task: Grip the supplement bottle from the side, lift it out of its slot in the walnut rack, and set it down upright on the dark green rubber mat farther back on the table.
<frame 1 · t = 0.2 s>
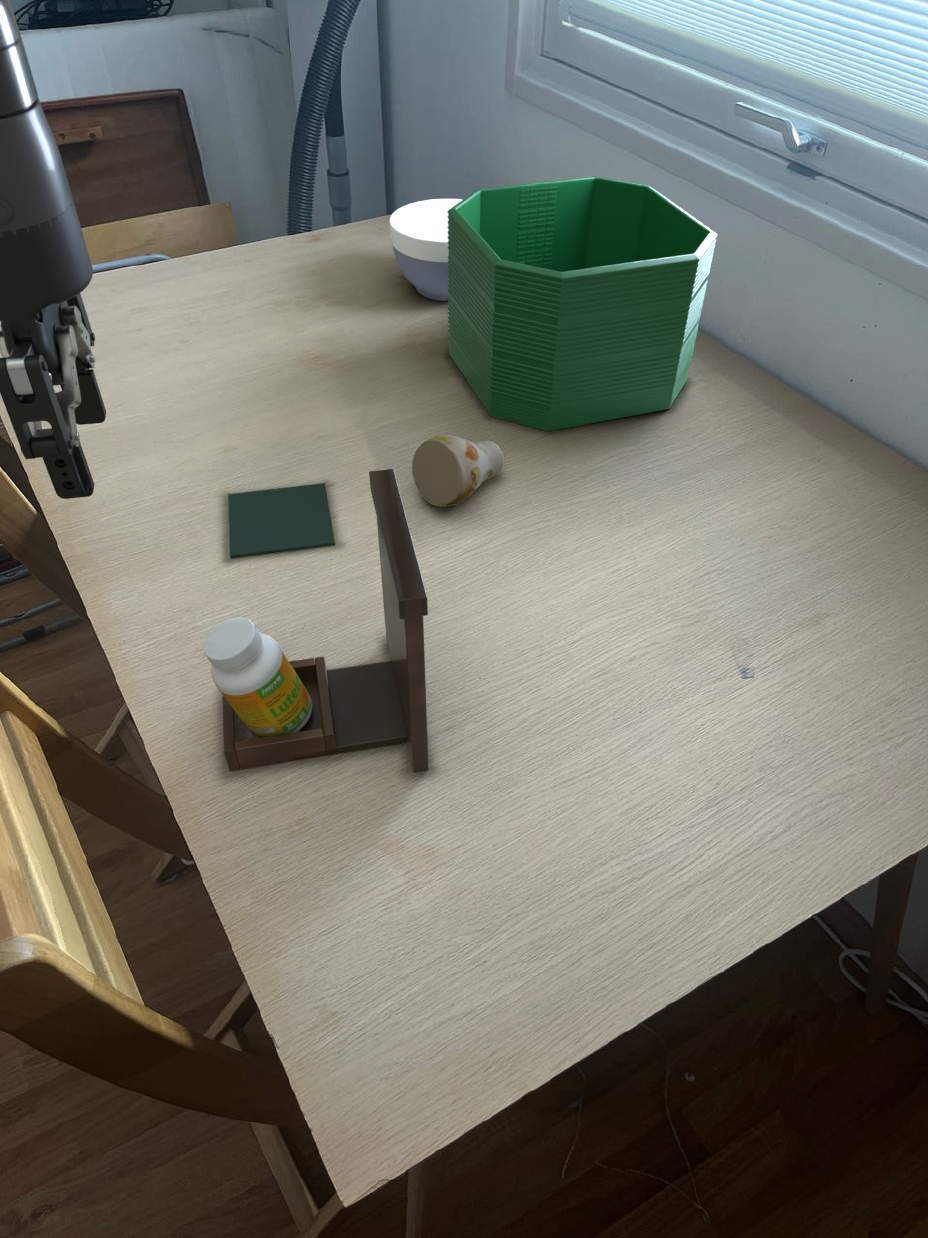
hand: (84, 456, 58), 22 cm above the table, tool pointing down, fingers open, 8 cm apart
planter: (565, 369, 111), on the table
rubber mat: (280, 520, 88), on the table
bowl: (447, 288, 127), on the table
supplement bottle: (283, 717, 70), resting in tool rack
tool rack: (281, 721, 70), on the table
fruit print bud vase: (461, 488, 93), on the table
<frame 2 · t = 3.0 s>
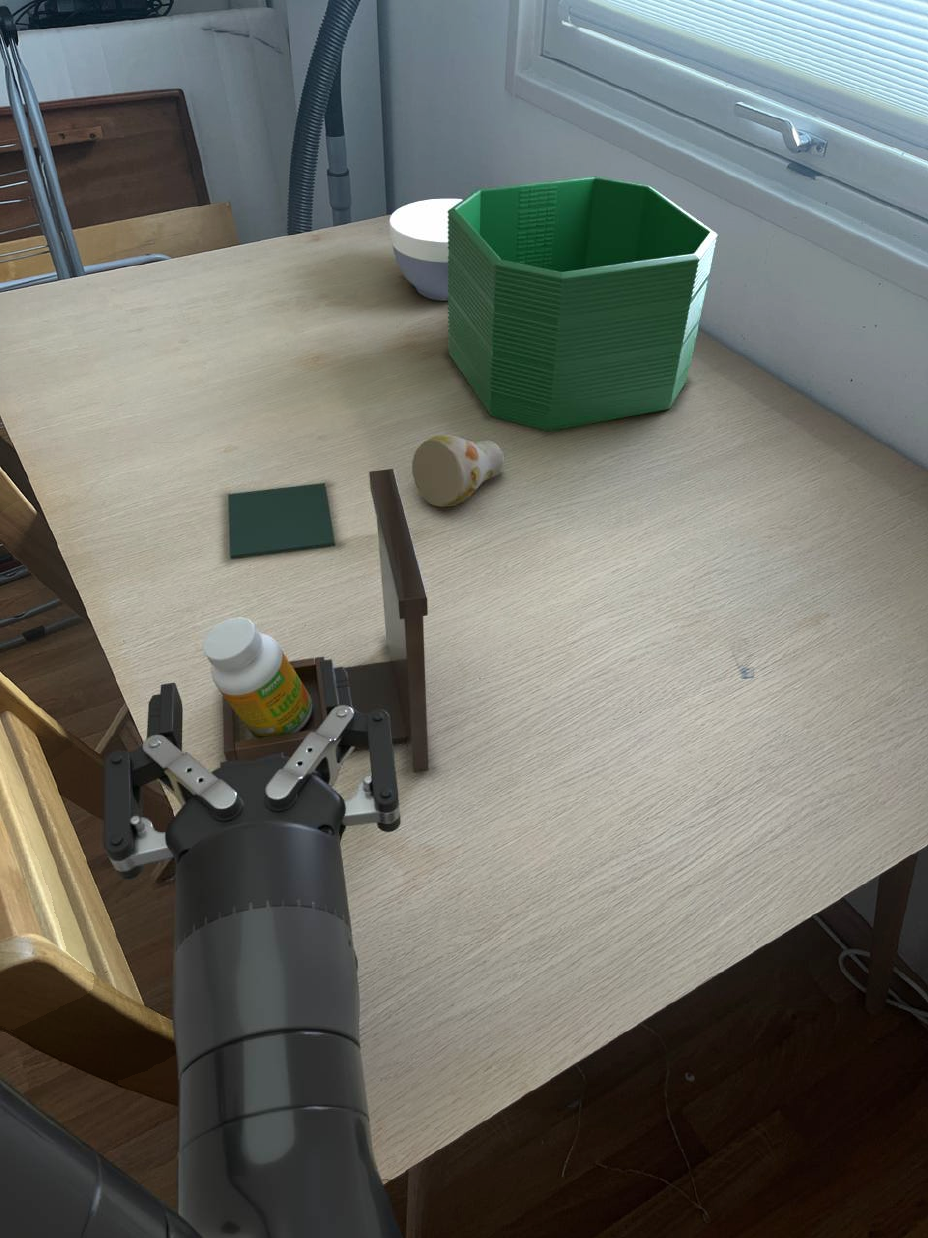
hand: (250, 681, 49), 18 cm above the table, tool horizontal, fingers open, 8 cm apart
nothing on the table moved.
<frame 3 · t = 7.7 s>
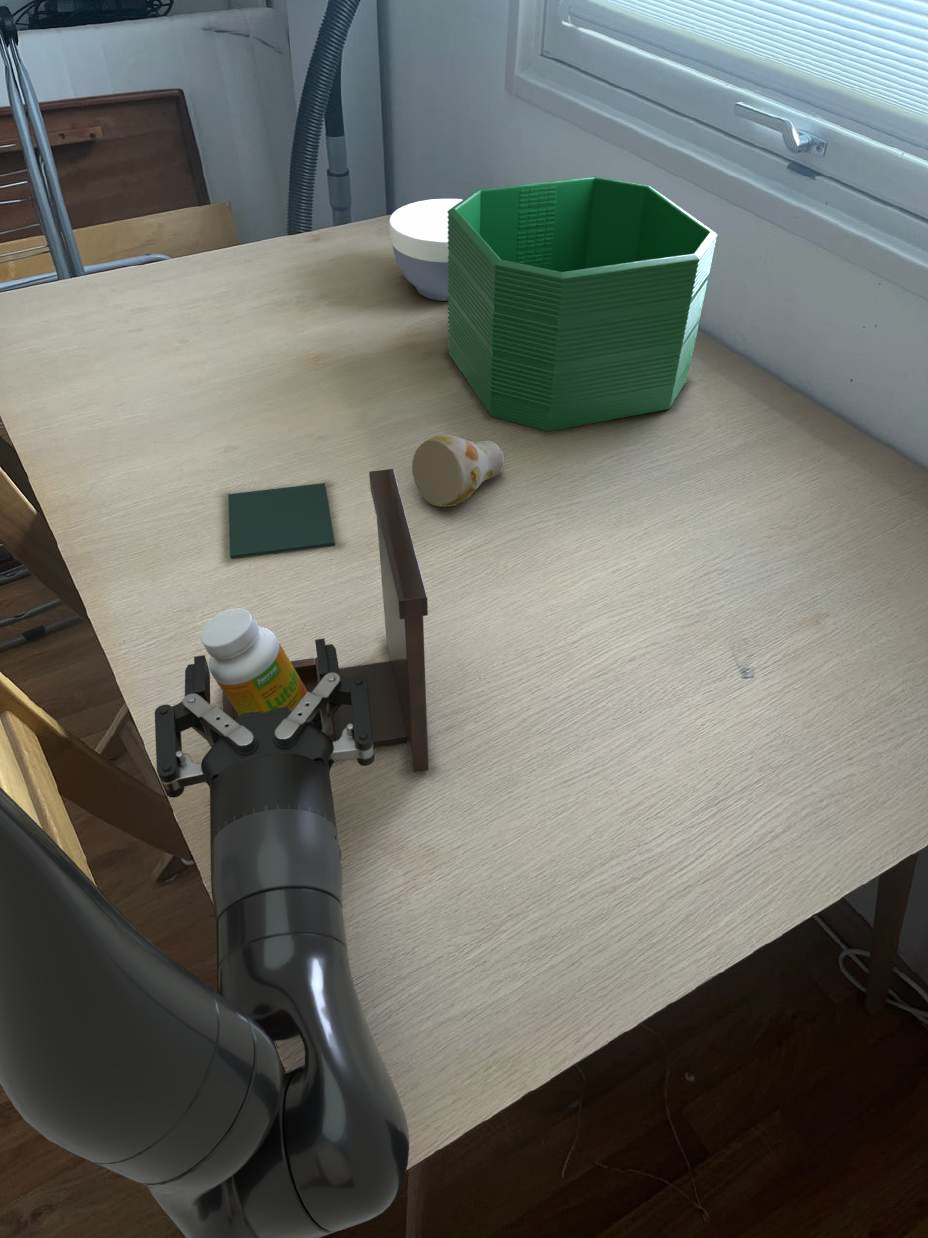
hand: (261, 654, 64), 8 cm above the table, tool horizontal, fingers open, 8 cm apart
supplement bottle: (281, 715, 69), point 1 cm above the table, touching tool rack
everything else where it was.
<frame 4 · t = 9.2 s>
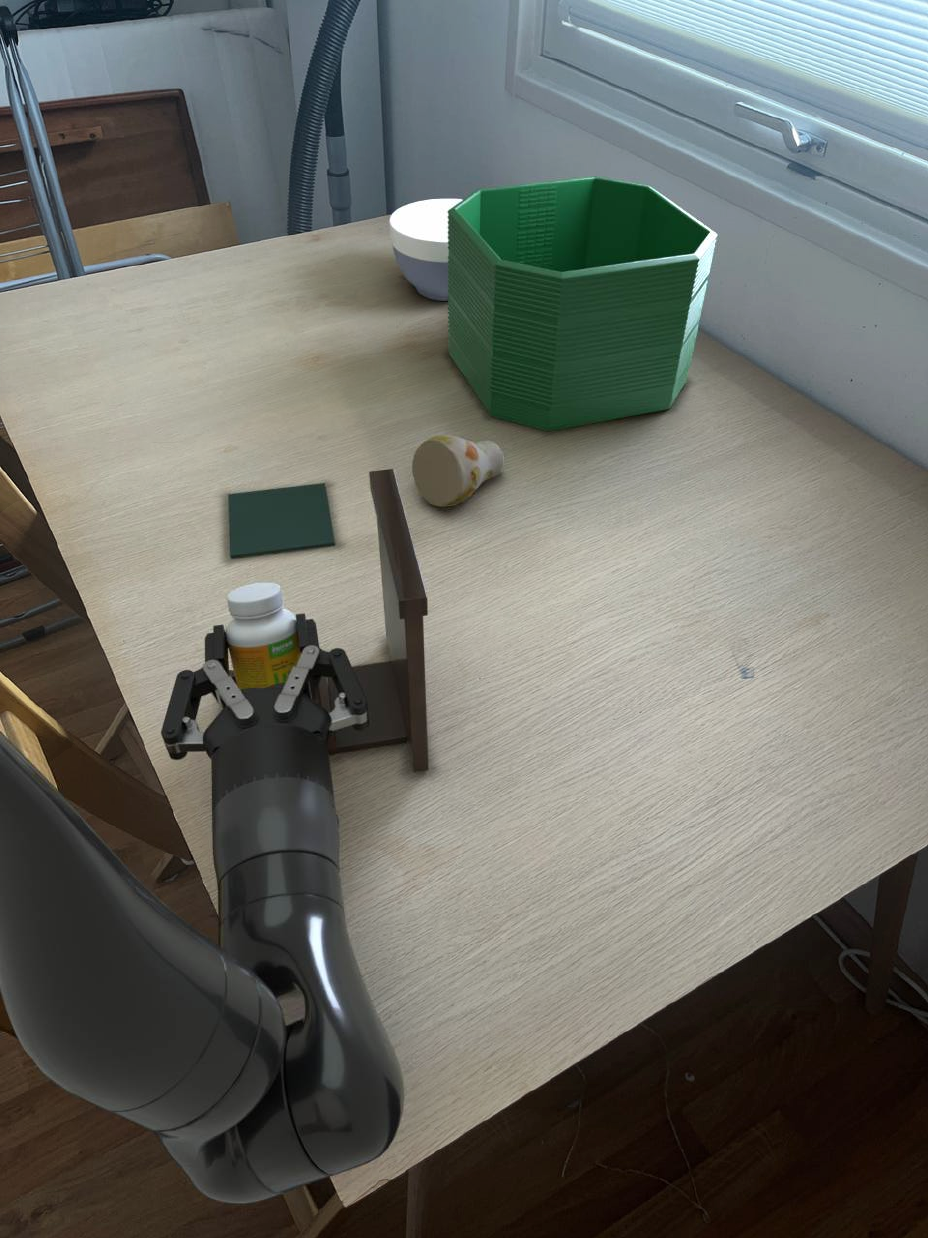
hand: (261, 627, 66), 8 cm above the table, tool horizontal, fingers closed on supplement bottle, 5 cm apart
supplement bottle: (278, 708, 69), point 2 cm above the table, touching gripper, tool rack
everything else where it was.
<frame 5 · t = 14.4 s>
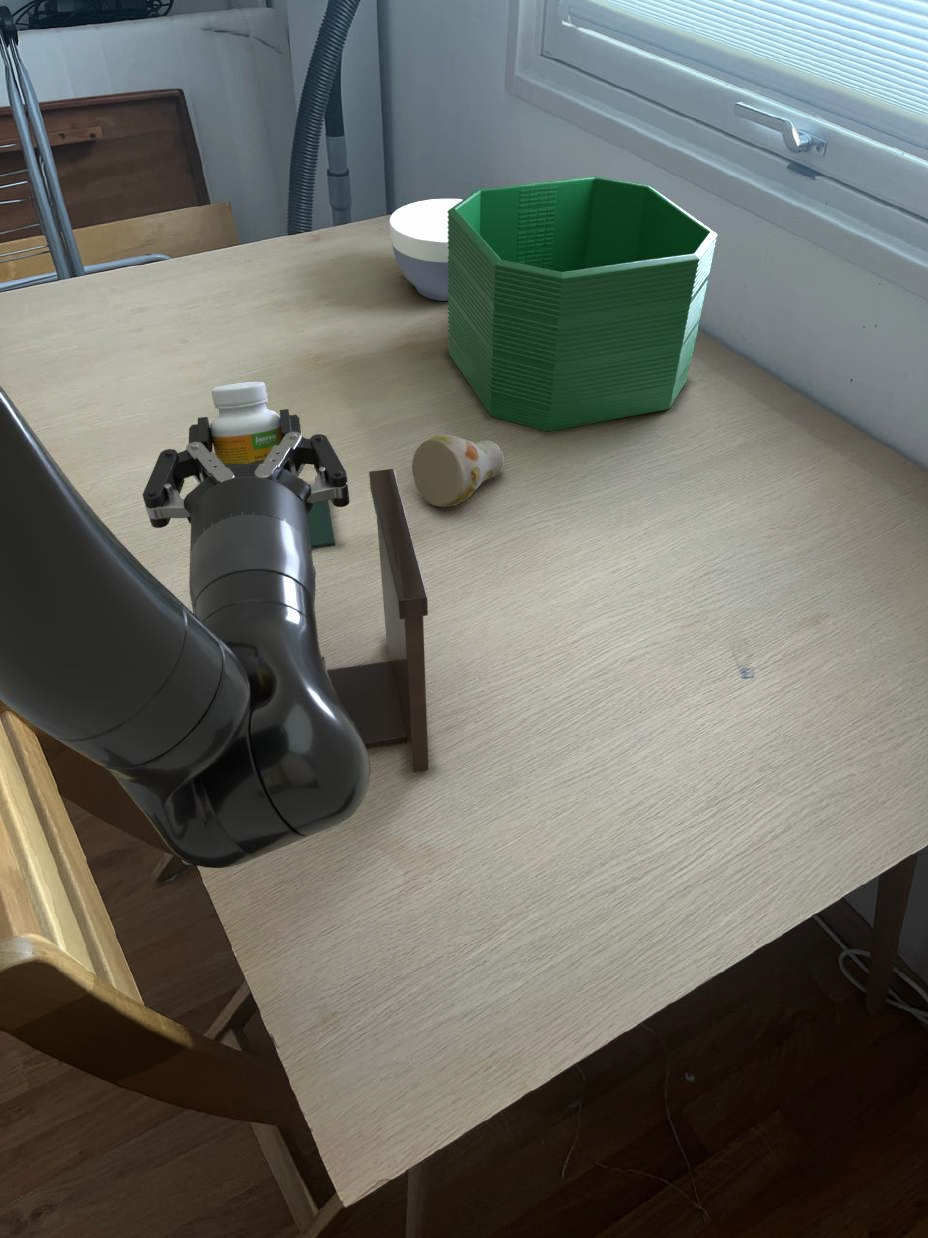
hand: (245, 423, 67), 19 cm above the table, tool horizontal, fingers closed on supplement bottle, 5 cm apart
supplement bottle: (263, 513, 70), point 12 cm above the table, touching gripper
everything else where it was.
when the fingers open (8 cm above the table, at t = 20.1 s): supplement bottle drops 1 cm, resting on rubber mat.
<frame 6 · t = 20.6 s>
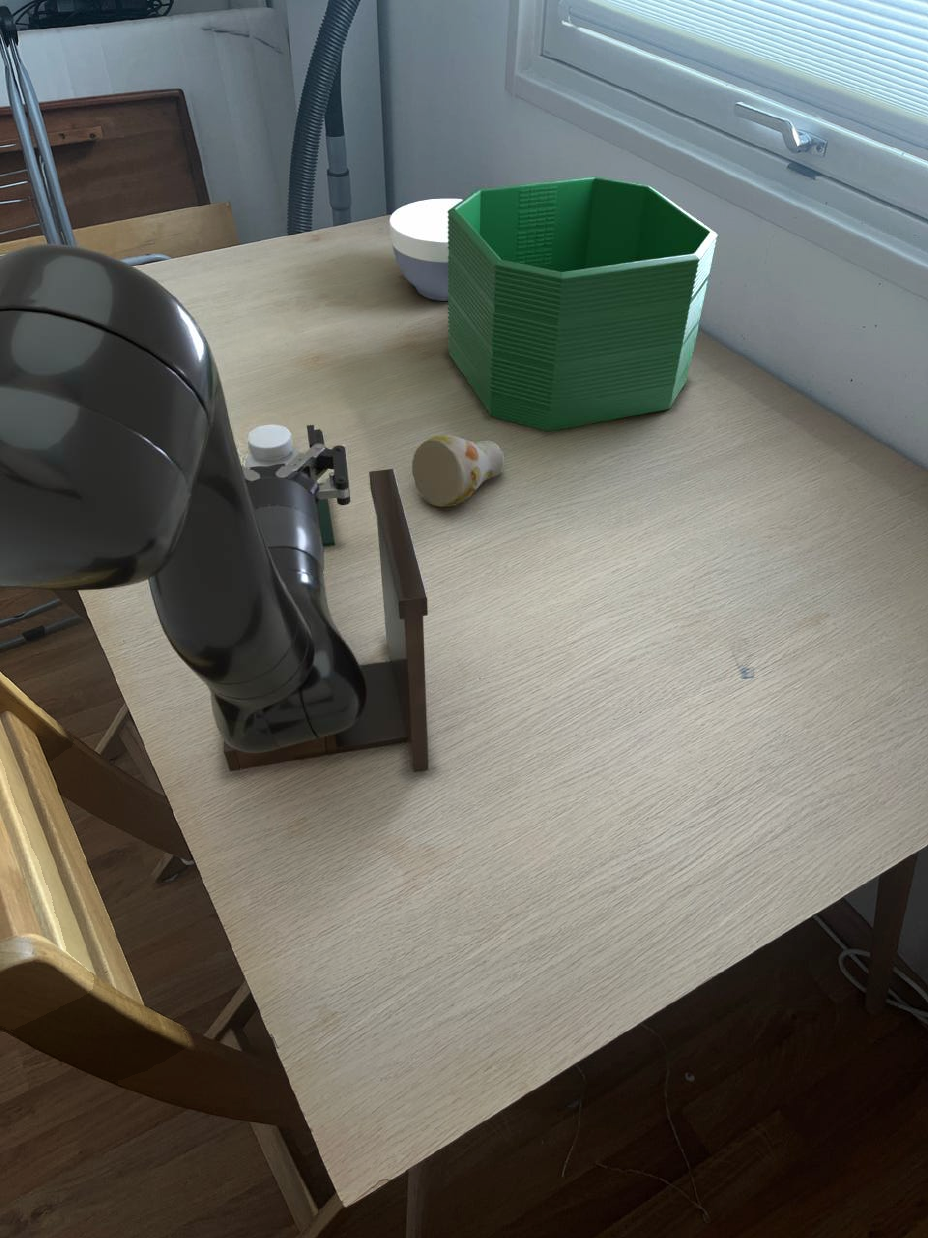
hand: (266, 437, 84), 9 cm above the table, tool horizontal, fingers open, 8 cm apart
supplement bottle: (283, 520, 88), resting on rubber mat
everything else where it was.
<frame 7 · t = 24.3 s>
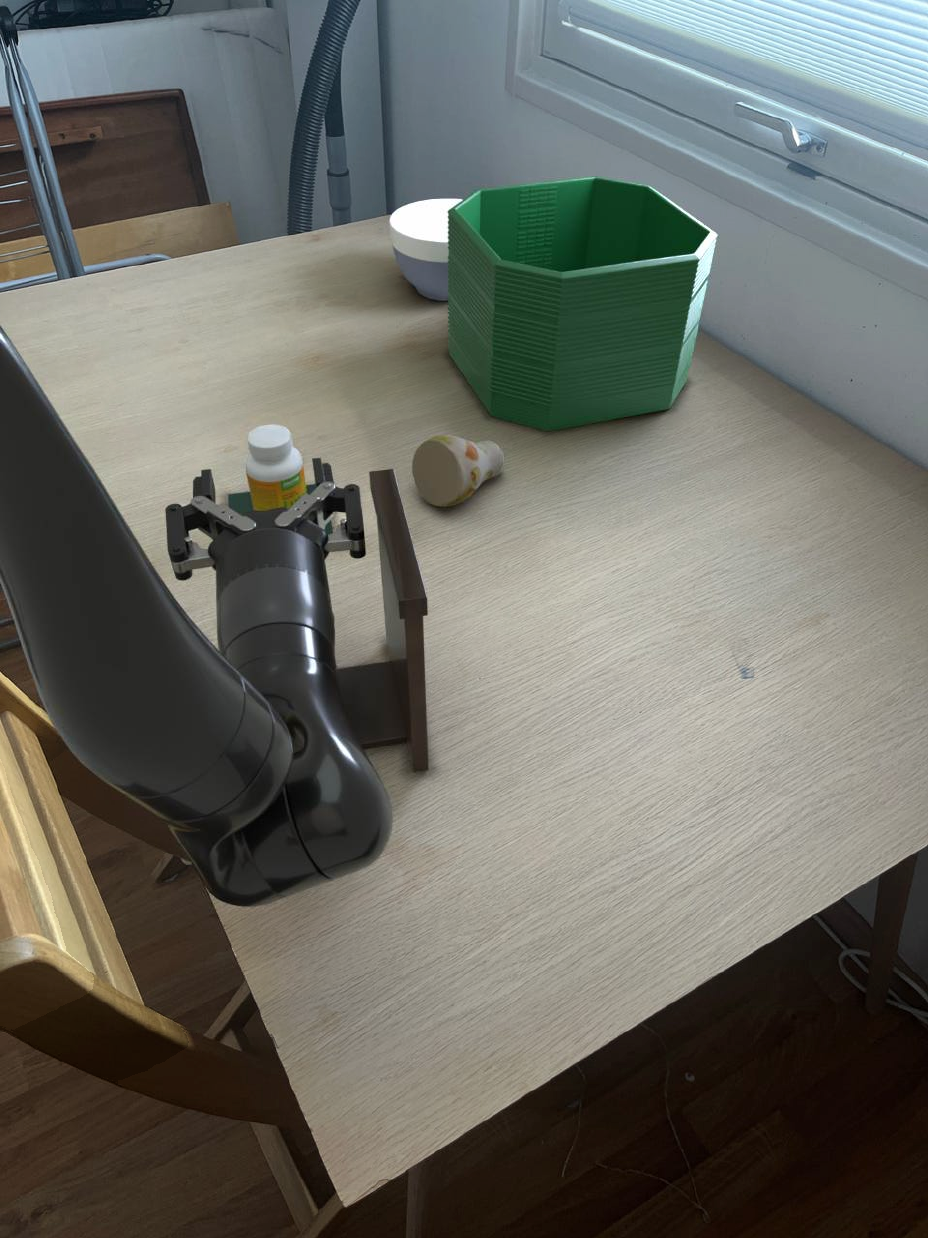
hand: (263, 472, 70), 14 cm above the table, tool horizontal, fingers open, 8 cm apart
nothing on the table moved.
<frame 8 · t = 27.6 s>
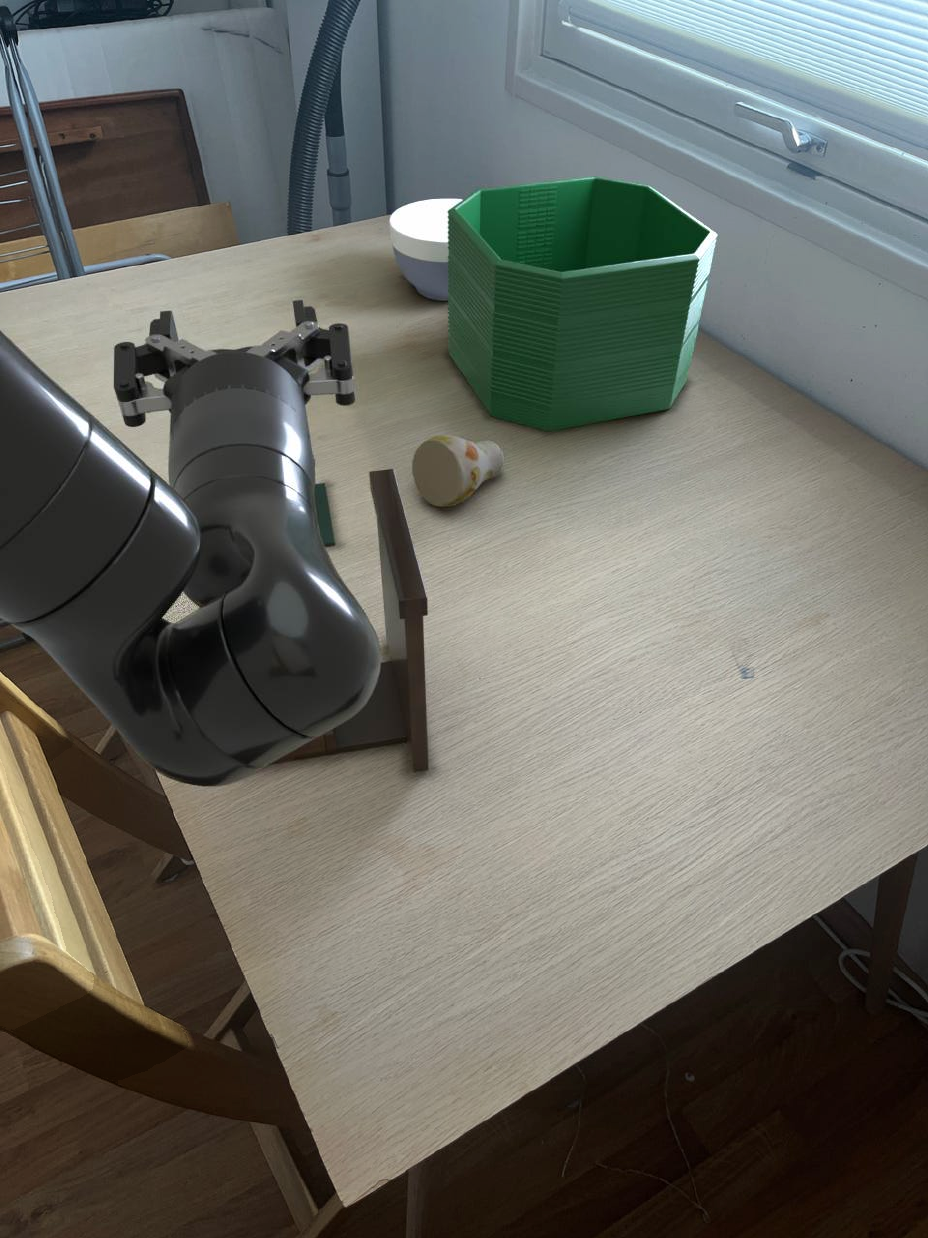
hand: (234, 318, 59), 28 cm above the table, tool horizontal, fingers open, 8 cm apart
nothing on the table moved.
at the end: supplement bottle inside the target area on the rubber mat (0.4 cm from its centre), point 0.2 cm above the rubber mat's base; supplement bottle tilted 0°; the gripper is holding nothing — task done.
